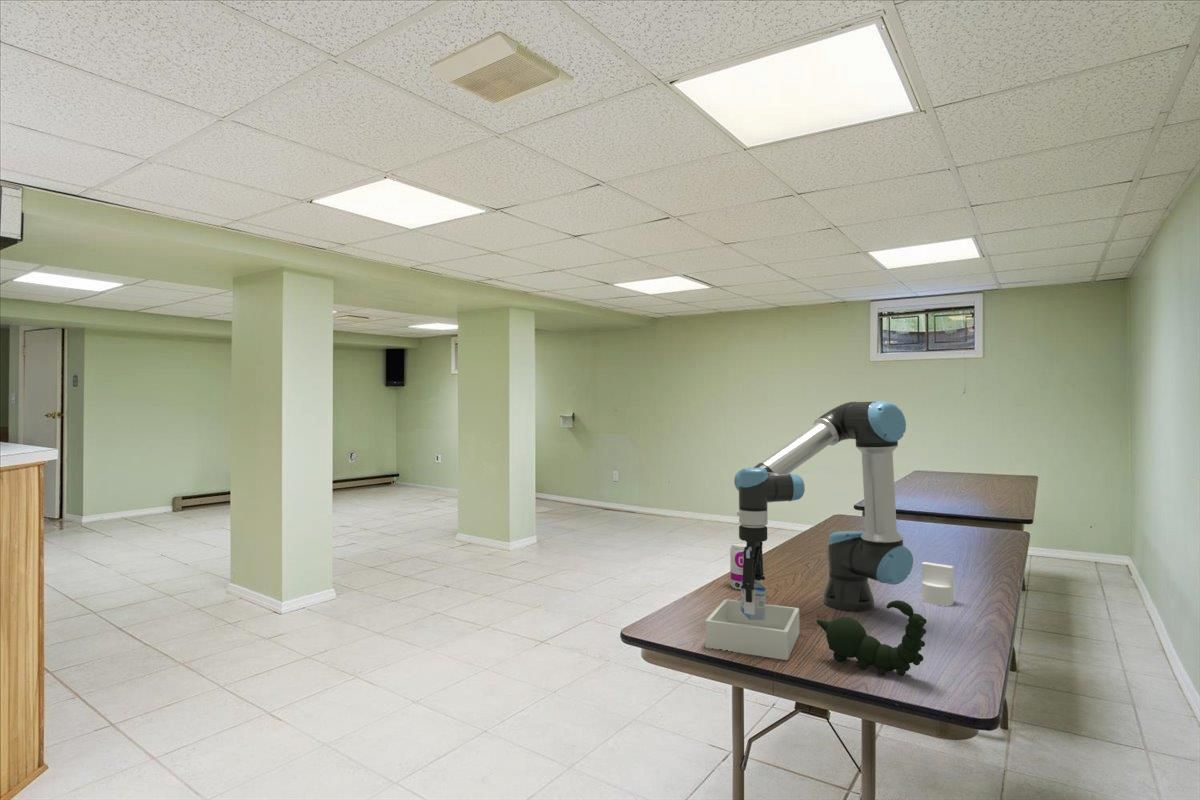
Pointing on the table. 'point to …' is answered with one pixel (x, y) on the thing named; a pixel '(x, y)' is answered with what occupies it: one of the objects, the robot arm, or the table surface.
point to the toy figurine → (876, 642)
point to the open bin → (753, 630)
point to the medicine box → (756, 602)
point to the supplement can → (736, 564)
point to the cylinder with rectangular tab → (937, 584)
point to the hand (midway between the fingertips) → (753, 608)
